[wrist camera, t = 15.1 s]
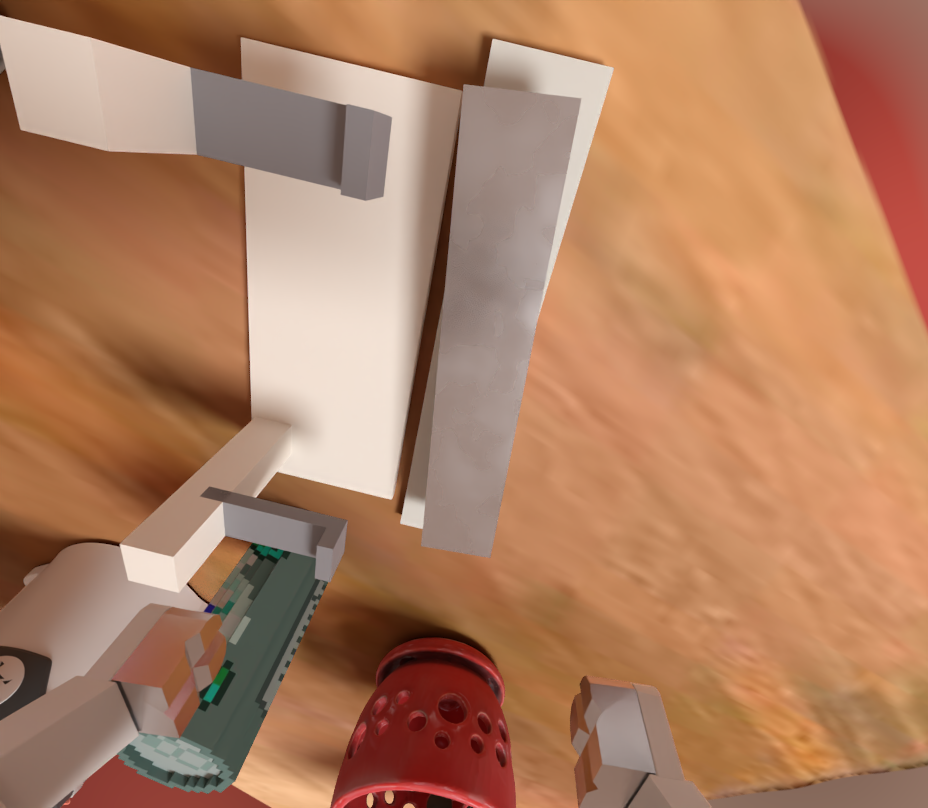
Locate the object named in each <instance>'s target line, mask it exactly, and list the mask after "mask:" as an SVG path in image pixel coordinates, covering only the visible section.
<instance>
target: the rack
mask: <svg viewBox="0 0 928 808" xmlns="http://www.w3.org/2000/svg"><path fill="white" fill-rule="evenodd" d="M0 46H1V50H2V54H3V59H4V63H5V67H6V71H7V75H8V80H9V84H10V88H11V92H12V96H13V100H14V105H15V109H16V113H17V117H18V121H19V126H20V130H23V131H27V132H31V133H35V134H40V135H44V136H48V137H52V138H56V139H60V140H64V141H68V142H72V143H77V144H81V145H85V146H89V147H93V148H97V149H101V150H105V151H113V152H140V153H166V154H193V155H200V156H204V157H209V158H213V159H217V160H221V161H225V162H229V163H233V164H237V165H241V166H244V171H245V206H246V241H247V276H248V311H249V346H250V381H251V416H252V421H251V422H249V423H248V424H247V425H246V426H245V427H244V428H243V429H242V430H241V431H240V432H239V433H238V434H237V435H236V436H234V437H233V438H232V439H231V440H230V441H229V442H228V443H227V444H226V445H225V446H224V447H223V448H222V449H221V450H220V451H218V452H217V453H216V454H215V455H214V456H213V457H212V458H211V459H210V460H209V461H208V462H207V463H206V464H205V465H203V466H202V467H201V468H200V469H199V470H198V471H197V472H196V473H195V474H194V475H193V476H192V477H191V478H190V479H188V480H187V481H186V482H185V483H184V484H183V485H182V486H181V487H180V488H179V489H178V490H177V491H176V492H175V493H173V494H172V495H171V496H170V497H169V498H168V499H167V500H166V501H165V502H164V503H163V504H162V505H161V506H160V507H158V508H157V509H156V510H155V511H154V512H153V513H152V514H151V515H150V516H149V517H148V518H147V519H146V520H145V521H143V522H142V523H141V524H140V525H139V526H138V527H137V528H136V529H135V530H134V531H133V532H132V533H131V534H130V535H128V536H127V537H126V538H125V539H124V540H123V541H122V542H121V543H120V548H121V552H122V556H123V560H124V565H125V569H126V573H127V577H128V580H129V581H133V582H137V583H141V584H145V585H149V586H153V587H157V588H161V589H165V590H169V591H173V592H177V593H179V592H180V591H181V590H182V589H183V587H184V586H185V585H186V584H187V582H188V581H189V580H190V579H191V577H192V576H193V575H194V574H195V572H196V571H197V570H198V569H199V568H200V566H201V565H202V564H203V563H204V561H205V560H206V559H207V558H208V556H209V555H210V554H211V553H212V551H213V550H214V549H215V548H216V546H217V545H218V544H219V543H220V542H221V540H222V539H223V538H224V537H225V536H228V537H232V538H236V539H240V540H244V541H248V542H252V543H257V544H261V545H265V546H269V547H273V548H277V549H281V550H285V551H289V552H293V553H297V554H301V555H305V556H309V557H314V558H316V567H315V579H319V580H323V581H327V582H330V581H331V579H332V577H333V575H334V573H335V571H336V568H337V566H338V564H339V562H340V560H341V558H342V555H343V553H344V548H345V539H346V530H347V521H348V520H344V519H340V518H336V517H332V516H328V515H324V514H320V513H316V512H312V511H308V510H304V509H300V508H295V507H291V506H287V505H283V504H279V503H275V502H271V501H267V500H263V499H259V498H256V497H257V496H258V494H259V493H260V492H261V491H262V490H263V488H264V487H265V486H266V485H267V483H268V482H269V481H270V480H271V478H272V477H273V476H274V475H275V473H276V472H280V473H285V474H289V475H293V476H297V477H301V478H305V479H309V480H313V481H317V482H321V483H325V484H329V485H333V486H338V487H342V488H346V489H350V490H354V491H358V492H362V493H366V494H370V495H374V496H378V497H382V498H387V499H391V500H392V498H393V495H394V493H395V487H396V482H397V476H398V470H399V464H400V459H401V453H402V447H403V441H404V436H405V430H406V424H407V418H408V413H409V407H410V401H411V395H412V390H413V384H414V378H415V372H416V367H417V361H418V355H419V349H420V344H421V338H422V332H423V326H424V321H425V315H426V309H427V303H428V298H429V292H430V286H431V280H432V275H433V269H434V263H435V257H436V252H437V246H438V240H439V234H440V229H441V223H442V217H443V211H444V206H445V200H446V194H447V188H448V183H449V177H450V171H451V165H452V160H453V154H454V148H455V142H456V137H457V131H458V125H459V119H460V114H461V107H462V96H463V91H461V90H457V89H453V88H449V87H445V86H441V85H437V84H433V83H428V82H424V81H420V80H416V79H412V78H408V77H404V76H400V75H395V74H391V73H387V72H383V71H379V70H375V69H371V68H367V67H362V66H358V65H354V64H350V63H346V62H342V61H338V60H334V59H329V58H325V57H321V56H317V55H313V54H309V53H305V52H301V51H296V50H292V49H288V48H284V47H280V46H276V45H272V44H268V43H263V42H259V41H255V40H251V39H247V38H243V37H241V67H242V80H240V79H236V78H232V77H228V76H224V75H220V74H216V73H212V72H208V71H203V70H199V69H195V68H191V67H188V66H184V65H181V64H178V63H174V62H171V61H167V60H164V59H161V58H157V57H154V56H151V55H147V54H144V53H141V52H137V51H134V50H131V49H127V48H124V47H121V46H117V45H114V44H111V43H107V42H104V41H101V40H97V39H94V38H91V37H86V36H82V35H78V34H74V33H70V32H66V31H62V30H58V29H54V28H49V27H45V26H41V25H37V24H33V23H29V22H25V21H21V20H16V19H12V18H8V17H4V16H0Z"/></svg>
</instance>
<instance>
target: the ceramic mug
mask: <svg viewBox="0 0 928 808" xmlns="http://www.w3.org/2000/svg"><path fill="white" fill-rule="evenodd" d="M0 16H1V15H0ZM5 69H6V67H5V63H4V59H3V54H2V50H1V46H0V74H1V73H2V72H3V71H4V70H5Z"/></svg>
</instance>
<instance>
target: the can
mask: <svg viewBox="0 0 928 808" xmlns="http://www.w3.org/2000/svg"><path fill="white" fill-rule="evenodd" d="M315 567H316V558H314V557H309V556H305V555H301V554H297V553H293V552H289V551H285V550H281V549H277V548H273V547H269V546H265V545H261V544H257V543H252V544H251V546H250V547H249V549H248V550H247V551H246V553H245V554H244V556H243V557H242V558H241V560H240V561H239V563H238V564H237V565H236V567H235V568H234V569H233V571H232V572H231V574H230V575H229V576H228V578H227V579H226V581H225V582H224V583H223V585H222V586H221V588H220V589H219V590H218V592H217V593H216V595H215V596H214V597H213V599H212V600H211V602H210V603H209V604H208V606H207V607H206V609H205V610H204V611H203V612H206V613H212V614H218V615H220V617H221V621H222V626H221V627H220V629H219V630H218V631H219V632H221V633H222V634H223V635H224V636H225V638H226V644H227V645H226V654H225V657H224V660H223V663H222V665H221V668H220V670H219V672H218V674H217V675H216V677H215V679H214V681H213V682H212V683H211V684H210V685H208V686H207V687H205V688H204V689H203V690H201V691H200V692H199V697H200V705H199V706H198V708H197V710H196V711H195V713H194V715H193V716H192V718H191V720H190V722H189V723H188V725H187V727H186V728H185V730H184V732H183V733H182V735H181V737H180V738H175V737H168V736H160V735H153V734H146V733H139V732H138V733H139V736H138V737H136V738H135V739H134V740H133V741H132V742H130V743H129V744H128V745H127V746H126V747H124V748H123V749H122V750H121V751H120V752H118V753H117V754H118V755H120V756H119V759H121V760H124V761H125V763H124V764H125V765H127V766H129V767H132V768H134V769H136V770H138V771H137V773H138V774H140V775H143V776H145V777H147V778H149V779H152V780H154V781H156V782H159V783H161V784H163V785H166V786H168V787H170V788H173V787H174V786H176V787H178V788H180V789H182V790H185V791H187V792H190V791H191V790H192V791H195V792H197V793H199V792H200V791H202V792H205V793H207V794H208V793H210V792H211V791H212V790H213V789H214V790H216V791H218V792H222V791H223V790H224V789H226V788H227V787H228V786H229V785H231V784H232V783H233V782H234V781H235V780H236V778H237V776H238V774H239V772H240V769H241V767H242V765H243V763H244V761H245V759H246V757H247V755H248V752H249V750H250V748H251V746H252V744H253V742H254V740H255V737H256V735H257V733H258V731H259V729H260V727H261V725H262V722H263V720H264V718H265V716H266V714H267V712H268V710H269V707H270V705H271V703H272V701H273V699H274V697H275V695H276V692H277V690H278V688H279V686H280V684H281V682H282V680H283V678H284V675H285V673H286V671H287V669H288V667H289V665H290V663H291V660H292V658H293V656H294V654H295V652H296V650H297V648H298V645H299V643H300V641H301V639H302V637H303V635H304V633H305V630H306V628H307V626H308V624H309V622H310V620H311V618H312V615H313V613H314V611H315V609H316V607H317V605H318V603H319V601H320V598H321V596H322V594H323V592H324V590H325V588H326V586H327V583H328V582H327V581H323V580H319V579H315Z"/></svg>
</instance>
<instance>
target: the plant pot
mask: <svg viewBox="0 0 928 808" xmlns="http://www.w3.org/2000/svg"><path fill="white" fill-rule="evenodd" d="M376 686H377V689H376V690H375V692H374V693H373V695H372V696H371V698H370V699H369V701H368V702H367V704H366V706H365V708H364V709H363V711H362V713H361V715H360V717H359V720H358V722H357V725H356V727H355V729H354V732H353V734H352V736H351V738H350V741H349V744H348V746H347V750H346V754H345V757H344V760H343V763H342V766H341V768H340V772H339V775H338V778H337V782H336V785H335V790H334V794H333V798H332V802H331V807H330V808H369V807H368V806H367V795H368V794H369V793H372V795H373V798H374V801H373V805H372V807H371V808H403V806H404V805H405V804H407V803H411V804H413V805H414V807H415V808H427V802H428V798H429V796H430V795H431V794H434V795H438V796H442V797H446V798H450V799H451V800H452V808H467V807H468V806H471V807H473V808H516V795H515V782H514V775H513V769H512V760H511V744H510V738H509V733H508V728H507V724H506V721H505V718H504V714H503V712H502V709H501V706H502V704H503V701H504V697H505V687H504V682H503V679H502V677H501V675H500V673H499V671H498V670H497V668H496V667H495V665H494V664H493V663H492V662H491V661H490V660H489V659H488V658H487V657H486V656H485V655H484V654H482V653H481V652H479V651H478V650H476V649H475V648H473V647H471V646H469V645H467V644H464V643H462V642H458V641H455V640H451V639H446V638H420V639H415V640H411V641H408V642H406V643H403V644H401V645H399V646H397V647H395V648H394V649H392V650H391V651H390V652H389V653H388V654H387V655H386V656H385V657H384V658H383V659H382V661H381V663H380V664H379V667H378V669H377V672H376ZM388 790H392V792H393V794H394V800H393V802H392V803H391V804H388V803H387V802H386V801H385V792H386V791H388Z"/></svg>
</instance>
